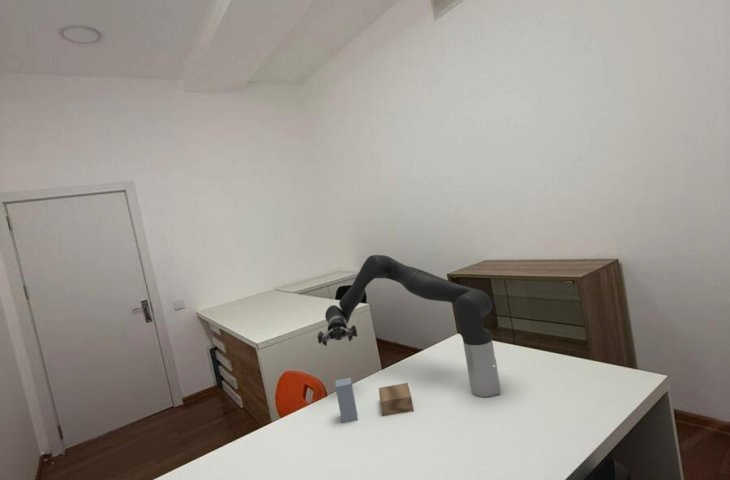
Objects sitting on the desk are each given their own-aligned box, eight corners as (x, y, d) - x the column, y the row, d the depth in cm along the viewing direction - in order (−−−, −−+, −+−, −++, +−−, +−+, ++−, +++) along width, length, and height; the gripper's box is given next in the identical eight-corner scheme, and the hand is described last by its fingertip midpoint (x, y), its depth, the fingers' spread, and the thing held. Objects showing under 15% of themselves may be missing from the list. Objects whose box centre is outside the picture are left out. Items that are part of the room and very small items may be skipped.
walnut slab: (410, 396, 134) (407, 382, 134) (413, 411, 124) (411, 396, 124) (381, 401, 134) (378, 387, 134) (382, 416, 125) (380, 401, 124)
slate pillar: (356, 412, 130) (350, 377, 129) (357, 419, 125) (351, 383, 124) (342, 415, 130) (335, 380, 129) (342, 423, 125) (335, 387, 124)
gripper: (317, 321, 152) (315, 334, 136) (353, 314, 153) (355, 326, 137) (321, 340, 153) (319, 354, 136) (357, 333, 153) (359, 347, 137)
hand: (337, 340), depth 137 cm, fingers open, 8 cm apart
